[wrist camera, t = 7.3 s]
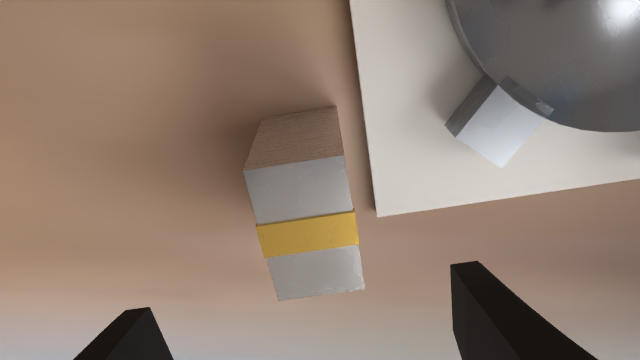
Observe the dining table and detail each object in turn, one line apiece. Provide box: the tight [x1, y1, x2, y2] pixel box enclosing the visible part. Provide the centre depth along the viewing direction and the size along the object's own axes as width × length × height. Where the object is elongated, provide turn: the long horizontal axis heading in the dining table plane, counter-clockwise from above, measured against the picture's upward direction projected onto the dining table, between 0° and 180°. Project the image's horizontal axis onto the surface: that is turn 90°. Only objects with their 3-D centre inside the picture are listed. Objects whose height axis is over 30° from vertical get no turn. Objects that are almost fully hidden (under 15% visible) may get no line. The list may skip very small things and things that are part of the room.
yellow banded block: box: [243, 106, 365, 301], centre depth 16 cm, size 5×3×5 cm, turn 10°
